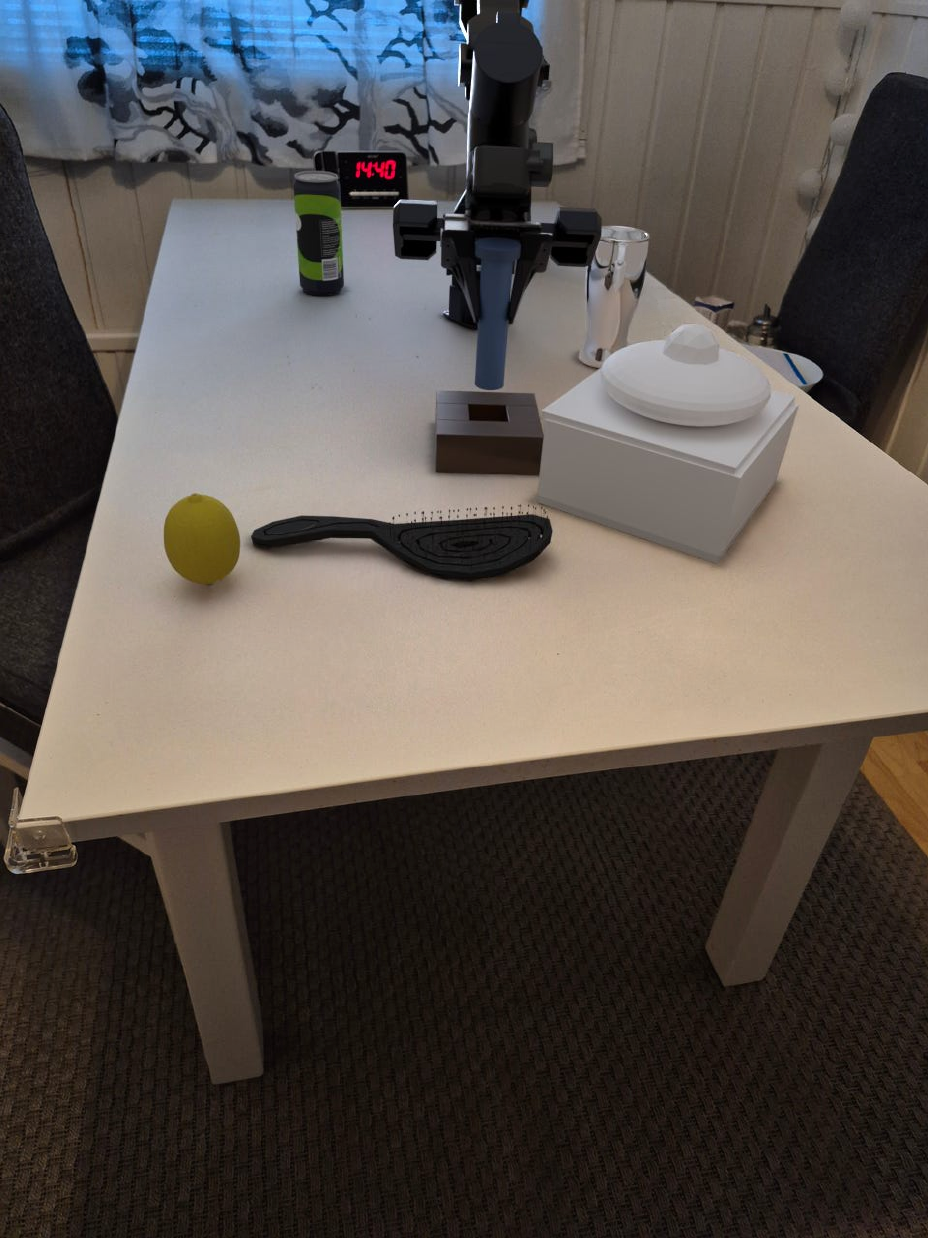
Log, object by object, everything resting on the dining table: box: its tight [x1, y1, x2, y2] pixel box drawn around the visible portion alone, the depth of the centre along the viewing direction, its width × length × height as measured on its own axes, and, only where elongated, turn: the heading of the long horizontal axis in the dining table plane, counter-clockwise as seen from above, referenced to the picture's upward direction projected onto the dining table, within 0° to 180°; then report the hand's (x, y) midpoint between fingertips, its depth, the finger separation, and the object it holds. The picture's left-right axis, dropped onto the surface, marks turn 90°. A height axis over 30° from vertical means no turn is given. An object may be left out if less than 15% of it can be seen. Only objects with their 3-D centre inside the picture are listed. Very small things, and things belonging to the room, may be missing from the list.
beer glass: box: [578, 225, 651, 369], centre depth 105 cm, size 7×7×15 cm
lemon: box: [163, 492, 241, 586], centre depth 67 cm, size 6×6×8 cm
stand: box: [434, 389, 544, 476], centre depth 88 cm, size 10×10×4 cm
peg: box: [474, 237, 521, 391], centre depth 81 cm, size 4×4×13 cm
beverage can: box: [292, 170, 345, 297], centre depth 122 cm, size 6×6×15 cm
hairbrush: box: [250, 503, 553, 582], centre depth 73 cm, size 8×4×25 cm
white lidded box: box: [536, 323, 800, 564], centre depth 79 cm, size 18×18×16 cm
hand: (493, 321), depth 80 cm, fingers closed on peg, 3 cm apart
